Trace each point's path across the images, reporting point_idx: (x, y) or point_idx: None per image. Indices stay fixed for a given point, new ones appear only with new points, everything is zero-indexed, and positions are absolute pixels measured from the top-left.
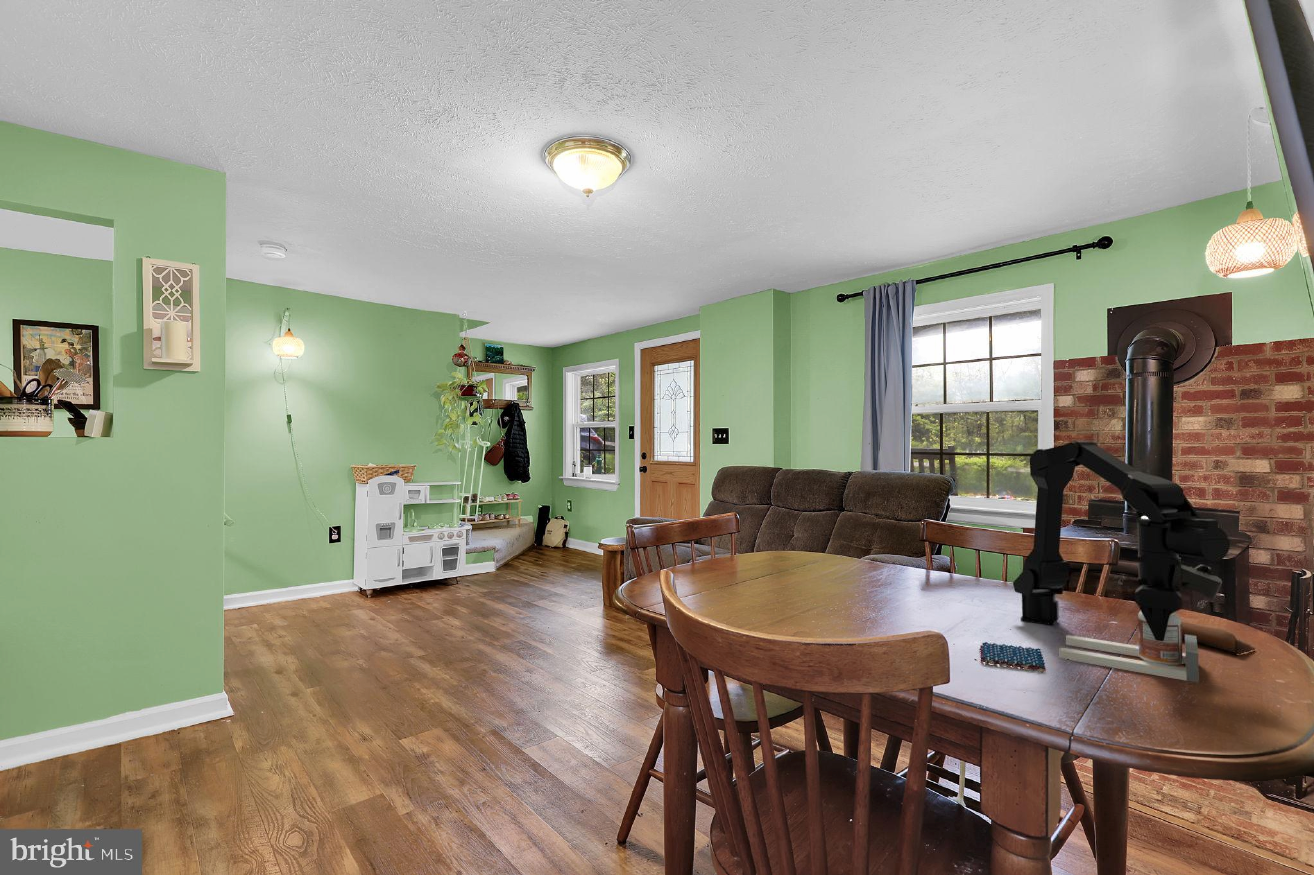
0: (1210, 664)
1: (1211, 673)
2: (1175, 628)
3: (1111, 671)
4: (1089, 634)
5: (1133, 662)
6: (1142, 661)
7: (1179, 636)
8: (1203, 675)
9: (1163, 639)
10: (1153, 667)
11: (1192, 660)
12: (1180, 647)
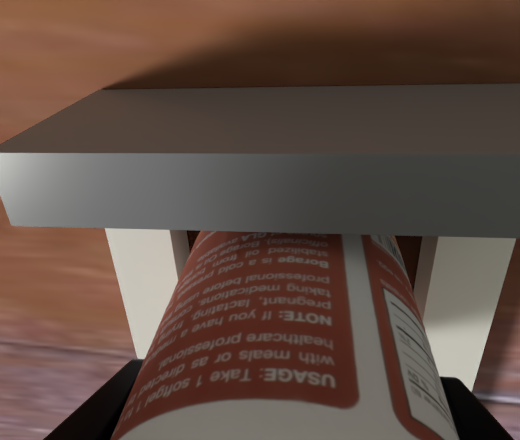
0: (55, 19)
1: (259, 14)
2: (433, 414)
3: (509, 397)
4: (9, 435)
5: (472, 370)
6: (428, 340)
7: (366, 312)
8: (336, 58)
9: (464, 388)
10: (493, 298)
11: None
12: (345, 243)
